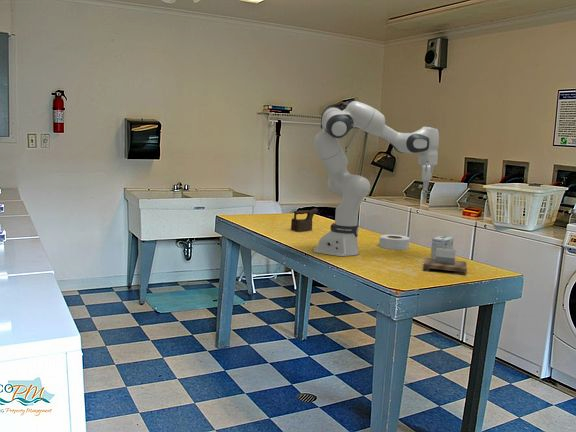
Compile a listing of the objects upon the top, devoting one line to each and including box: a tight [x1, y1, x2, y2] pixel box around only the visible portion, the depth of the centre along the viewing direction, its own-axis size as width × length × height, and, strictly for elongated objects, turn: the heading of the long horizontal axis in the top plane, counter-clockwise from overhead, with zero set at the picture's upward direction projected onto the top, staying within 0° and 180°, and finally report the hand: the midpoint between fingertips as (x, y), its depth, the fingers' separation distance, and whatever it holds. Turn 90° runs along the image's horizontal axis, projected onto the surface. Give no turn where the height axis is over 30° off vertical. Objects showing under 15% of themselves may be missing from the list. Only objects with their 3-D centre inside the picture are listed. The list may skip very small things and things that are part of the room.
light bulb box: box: [430, 235, 455, 259], centre depth 258 cm, size 11×7×11 cm, turn 141°
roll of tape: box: [378, 234, 411, 251], centre depth 284 cm, size 16×16×6 cm
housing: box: [435, 248, 457, 265], centre depth 237 cm, size 5×8×6 cm, turn 69°
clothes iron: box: [290, 207, 319, 233], centre depth 322 cm, size 8×16×13 cm, turn 121°
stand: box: [423, 257, 468, 276], centre depth 238 cm, size 18×14×3 cm
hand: (425, 189), depth 258 cm, fingers open, 8 cm apart
